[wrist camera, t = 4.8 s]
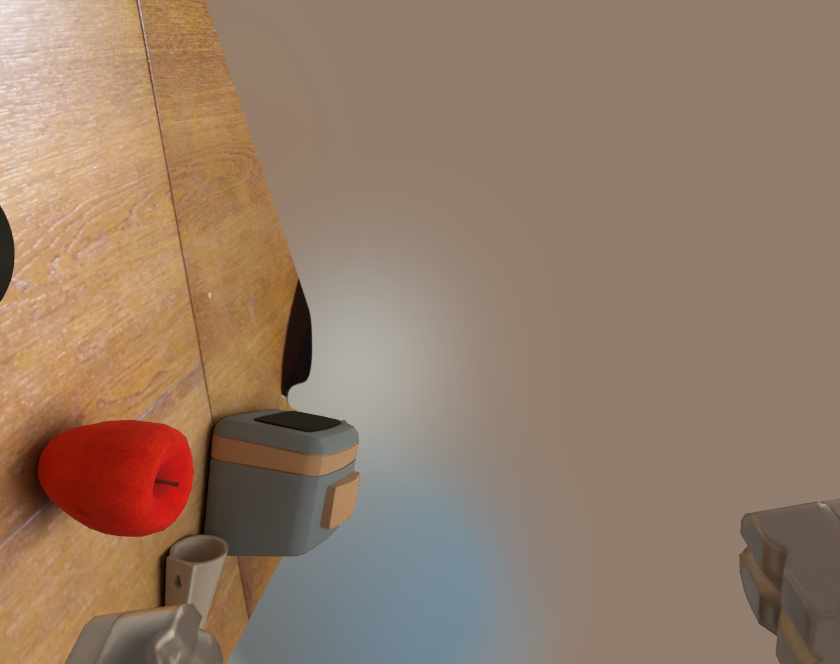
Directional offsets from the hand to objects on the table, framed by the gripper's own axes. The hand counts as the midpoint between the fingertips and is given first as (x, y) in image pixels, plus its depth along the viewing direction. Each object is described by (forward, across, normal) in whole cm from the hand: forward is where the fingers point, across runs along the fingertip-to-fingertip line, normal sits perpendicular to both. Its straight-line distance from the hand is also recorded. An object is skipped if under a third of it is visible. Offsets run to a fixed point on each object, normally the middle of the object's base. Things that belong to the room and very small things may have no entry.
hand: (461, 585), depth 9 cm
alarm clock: (+54, -34, -41) cm, 76 cm away
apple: (+32, -34, -19) cm, 50 cm away
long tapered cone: (+38, -39, -47) cm, 71 cm away
